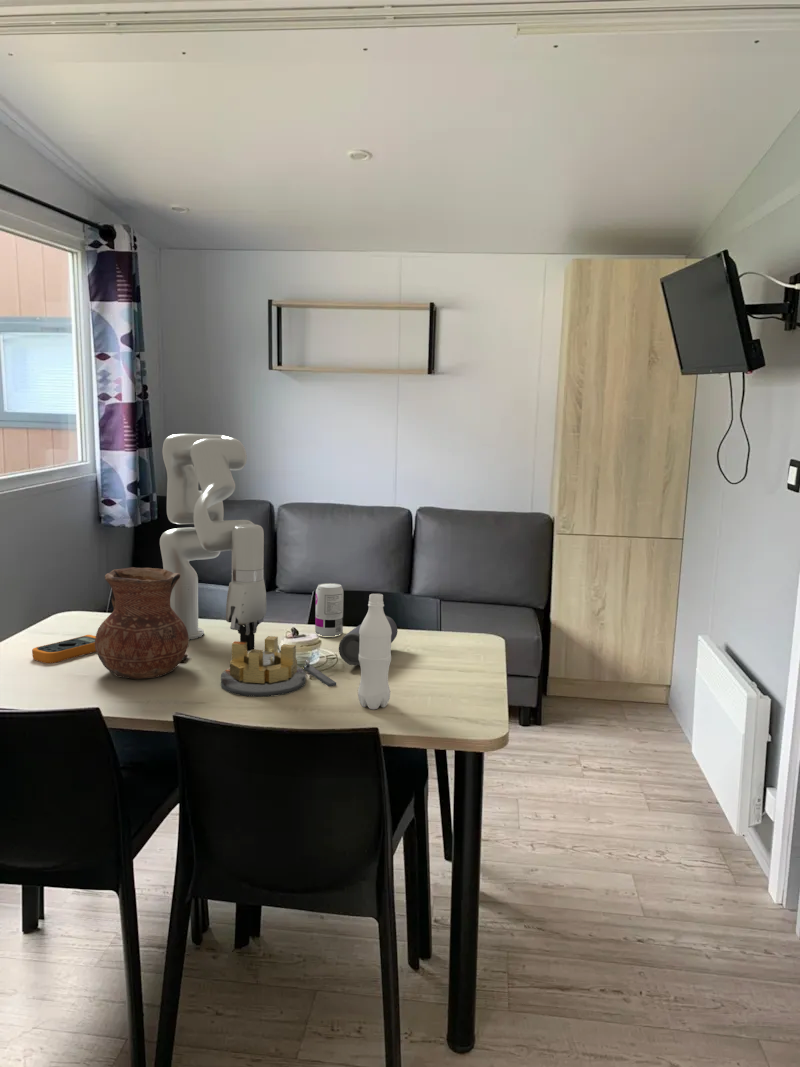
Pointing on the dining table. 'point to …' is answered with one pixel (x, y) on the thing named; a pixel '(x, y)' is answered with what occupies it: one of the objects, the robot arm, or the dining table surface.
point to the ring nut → (252, 663)
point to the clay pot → (141, 625)
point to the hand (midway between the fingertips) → (247, 649)
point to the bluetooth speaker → (351, 643)
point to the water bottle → (374, 655)
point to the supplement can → (329, 609)
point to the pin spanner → (319, 675)
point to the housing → (263, 688)
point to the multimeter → (65, 649)
